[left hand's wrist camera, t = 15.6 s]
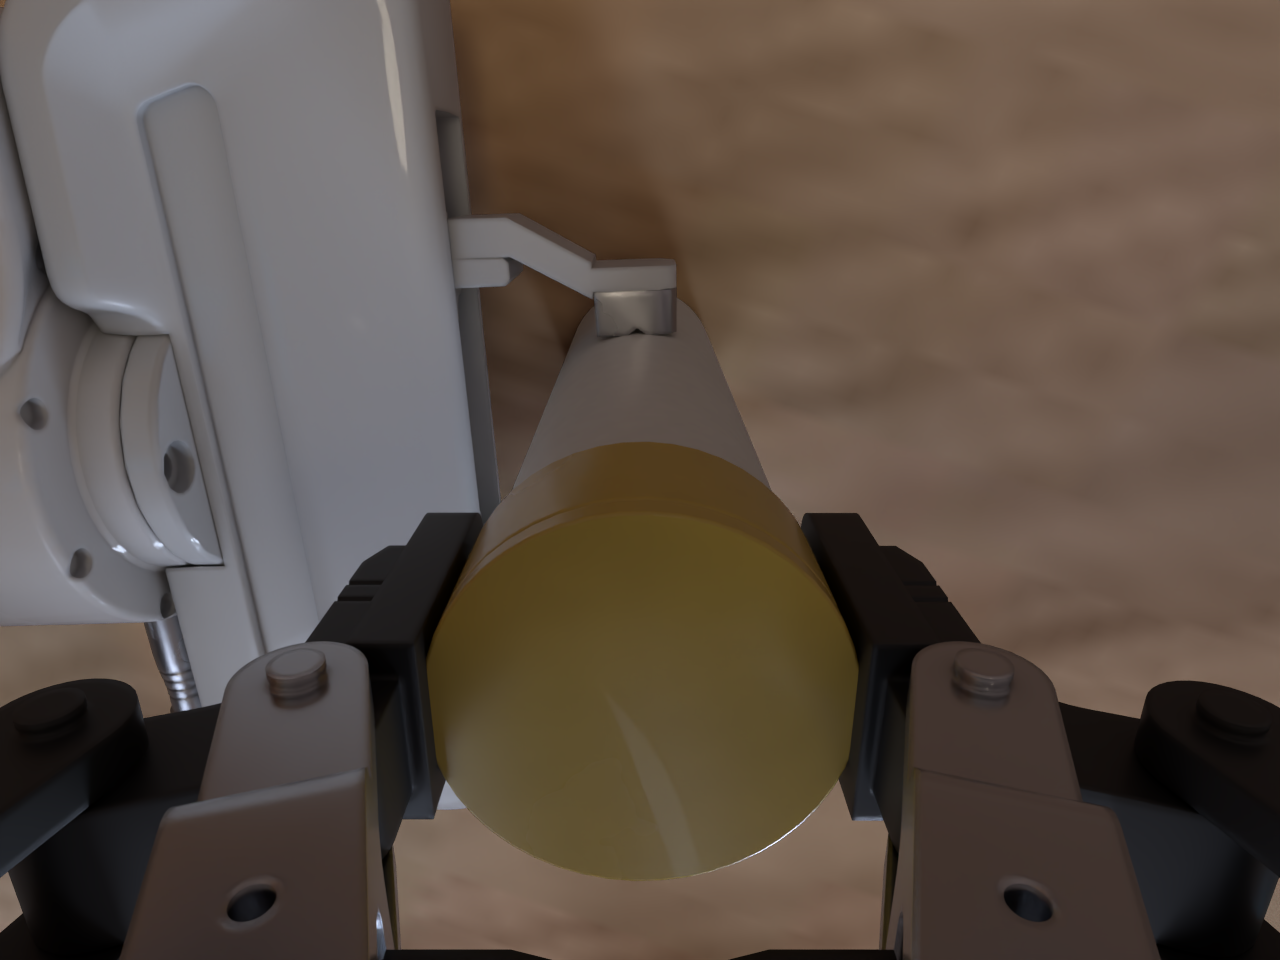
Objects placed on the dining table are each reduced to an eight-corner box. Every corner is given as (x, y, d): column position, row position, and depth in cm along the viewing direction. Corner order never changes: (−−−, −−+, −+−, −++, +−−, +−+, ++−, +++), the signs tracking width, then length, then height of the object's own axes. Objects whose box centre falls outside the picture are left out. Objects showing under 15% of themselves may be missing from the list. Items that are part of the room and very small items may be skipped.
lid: (394, 629, 11) (335, 740, 9) (614, 362, 10) (606, 416, 8) (663, 806, 12) (667, 942, 10) (893, 586, 11) (956, 689, 9)
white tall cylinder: (622, 258, 24) (588, 425, 8) (738, 341, 25) (910, 637, 9) (544, 375, 26) (383, 717, 10) (657, 450, 26) (683, 878, 10)
